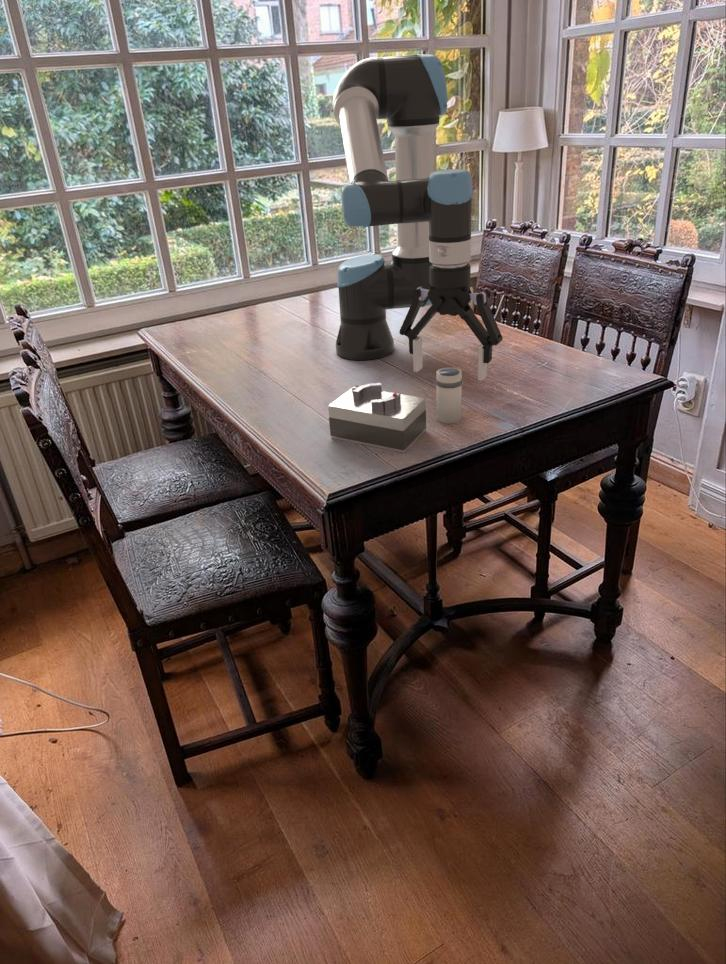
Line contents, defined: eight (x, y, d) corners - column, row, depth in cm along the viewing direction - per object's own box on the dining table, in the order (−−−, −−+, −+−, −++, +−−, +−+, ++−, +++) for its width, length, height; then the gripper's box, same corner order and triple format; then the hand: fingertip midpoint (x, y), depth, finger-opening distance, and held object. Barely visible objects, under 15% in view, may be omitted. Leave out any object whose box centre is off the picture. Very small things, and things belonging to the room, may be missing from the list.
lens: (431, 421, 139) (431, 374, 134) (442, 411, 143) (442, 365, 137) (455, 425, 136) (456, 378, 131) (465, 415, 140) (466, 368, 135)
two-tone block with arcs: (330, 437, 135) (326, 393, 130) (355, 417, 142) (352, 374, 137) (403, 452, 128) (402, 406, 123) (426, 430, 135) (425, 386, 130)
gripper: (379, 264, 126) (384, 372, 137) (509, 272, 115) (504, 389, 126) (397, 255, 132) (401, 360, 143) (523, 262, 121) (517, 375, 131)
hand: (449, 374), depth 134 cm, fingers open, 13 cm apart
